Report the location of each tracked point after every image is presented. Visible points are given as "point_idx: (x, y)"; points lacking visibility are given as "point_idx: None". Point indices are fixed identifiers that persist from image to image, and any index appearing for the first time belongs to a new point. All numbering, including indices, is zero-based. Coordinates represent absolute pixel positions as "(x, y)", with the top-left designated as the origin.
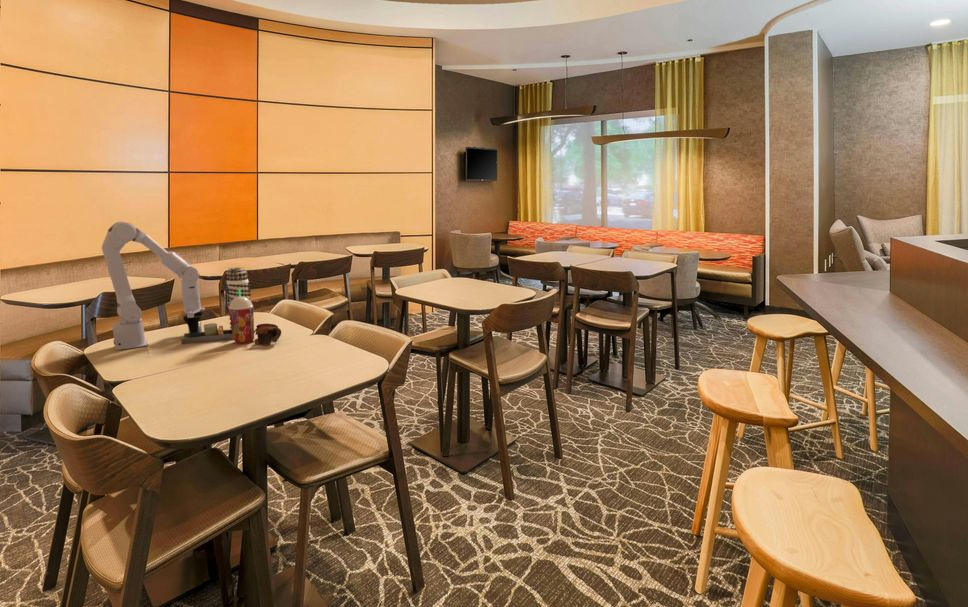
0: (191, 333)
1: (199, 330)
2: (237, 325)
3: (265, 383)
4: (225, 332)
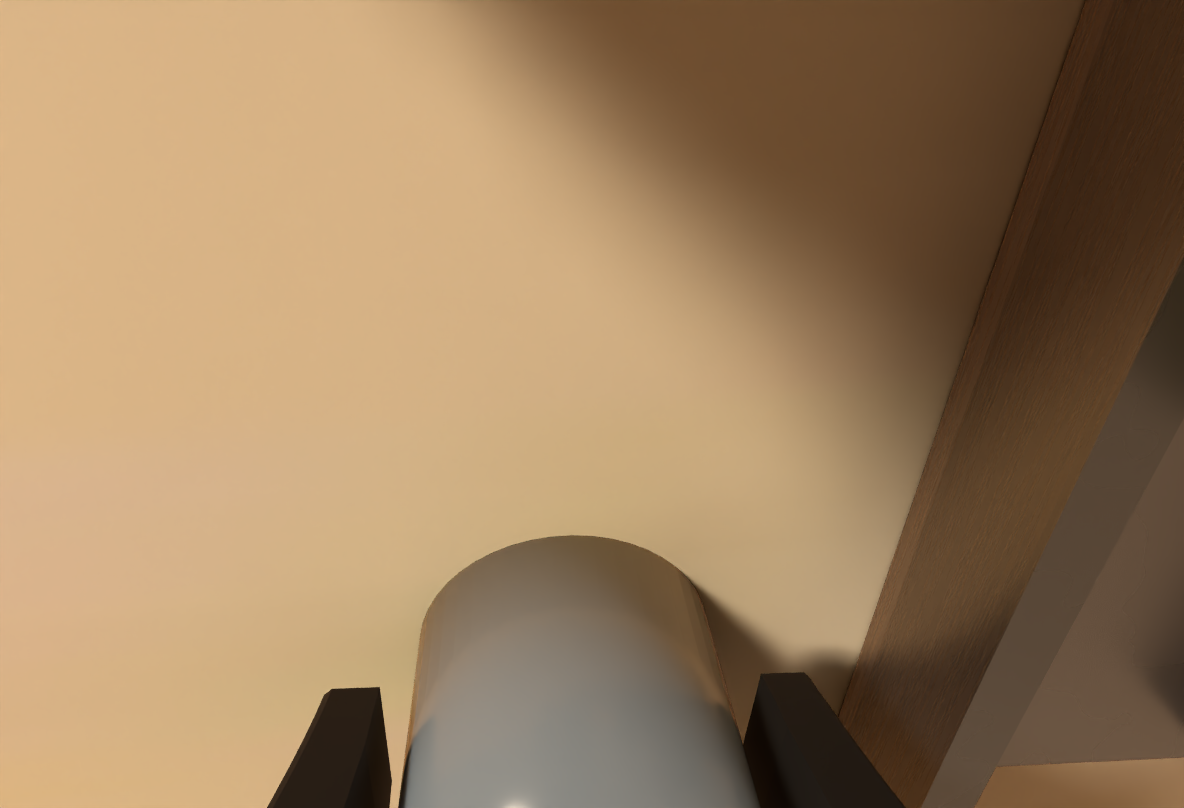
0: (975, 794)
1: (700, 700)
2: None
3: None
4: None
